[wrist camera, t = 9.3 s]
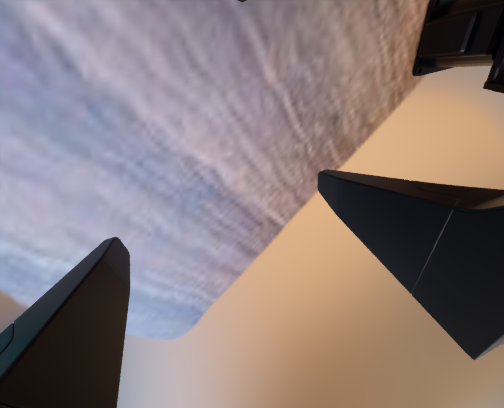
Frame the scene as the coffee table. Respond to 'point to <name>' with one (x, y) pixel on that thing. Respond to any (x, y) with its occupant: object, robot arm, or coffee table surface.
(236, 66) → the coffee table surface
